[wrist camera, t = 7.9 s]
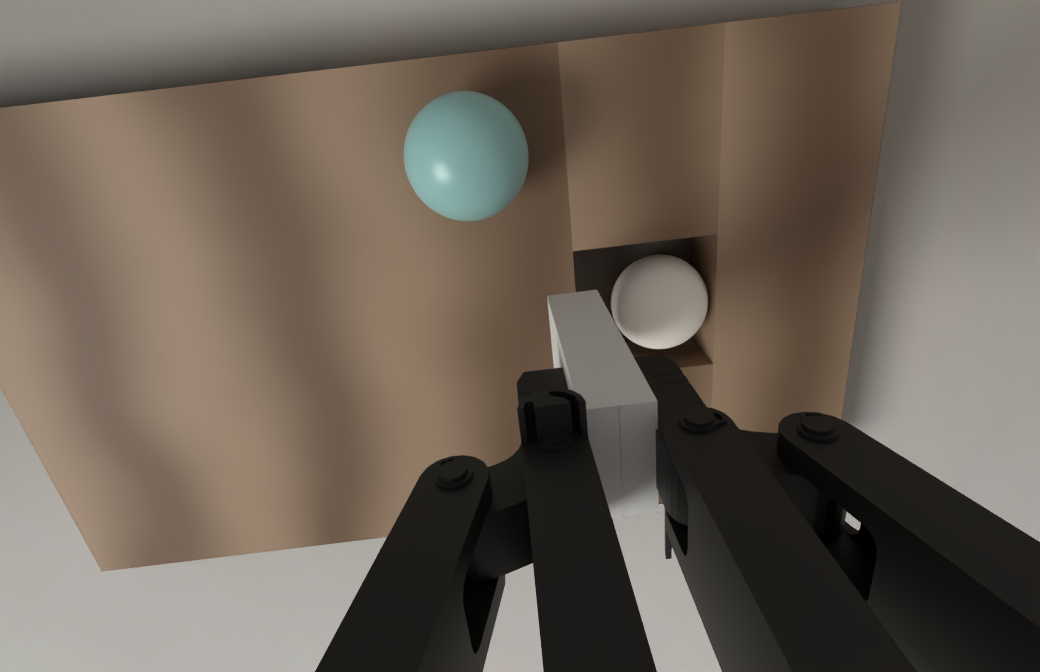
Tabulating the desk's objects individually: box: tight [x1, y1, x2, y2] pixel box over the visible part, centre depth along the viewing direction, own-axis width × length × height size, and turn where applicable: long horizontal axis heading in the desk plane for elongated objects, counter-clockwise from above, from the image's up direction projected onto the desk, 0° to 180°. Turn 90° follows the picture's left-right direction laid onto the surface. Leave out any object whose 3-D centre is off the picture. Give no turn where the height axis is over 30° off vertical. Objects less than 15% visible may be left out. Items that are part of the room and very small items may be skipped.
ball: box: [611, 254, 708, 349], centre depth 19 cm, size 3×3×3 cm
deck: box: [0, 2, 902, 571], centre depth 19 cm, size 28×16×2 cm, turn 96°
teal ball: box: [404, 91, 529, 221], centre depth 15 cm, size 3×3×3 cm
